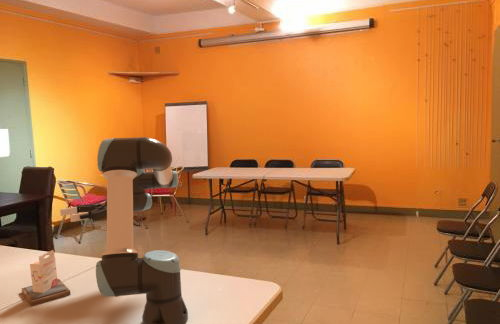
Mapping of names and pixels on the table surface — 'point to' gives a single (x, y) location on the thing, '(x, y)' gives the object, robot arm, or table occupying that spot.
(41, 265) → the ink cartridge box
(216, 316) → the table surface
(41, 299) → the walnut stand
